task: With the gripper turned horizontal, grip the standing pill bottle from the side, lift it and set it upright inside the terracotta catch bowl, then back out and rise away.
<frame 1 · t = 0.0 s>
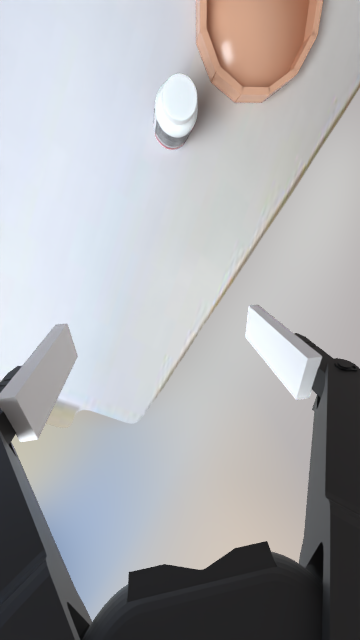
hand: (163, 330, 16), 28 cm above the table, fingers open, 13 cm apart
catch bowl: (254, 22, 29), on the table
pill bottle: (170, 129, 33), on the table
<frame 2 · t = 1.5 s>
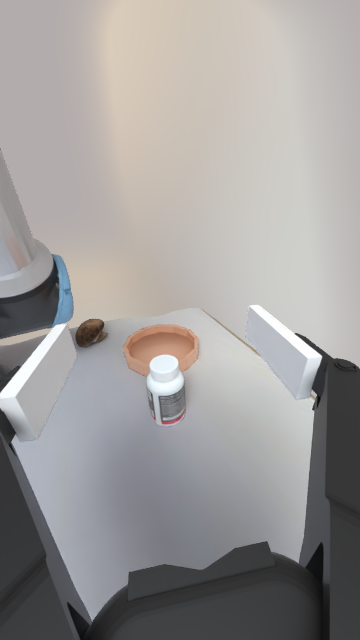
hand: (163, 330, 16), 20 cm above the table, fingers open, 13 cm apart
catch bowl: (162, 351, 48), on the table
pill bottle: (168, 413, 33), on the table
mushroom: (93, 342, 52), on the table
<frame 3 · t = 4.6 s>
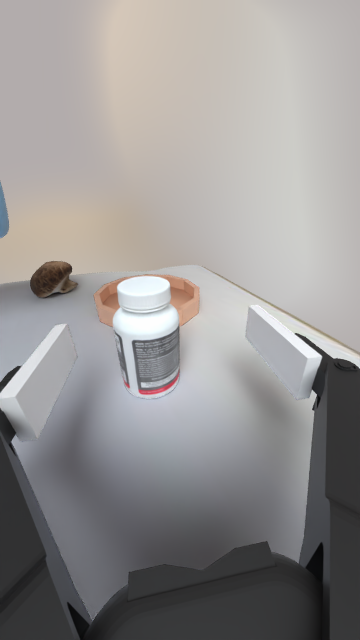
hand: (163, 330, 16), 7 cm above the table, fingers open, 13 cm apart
catch bowl: (149, 304, 35), on the table
pill bottle: (152, 379, 21), on the table
mushroom: (57, 294, 39), on the table
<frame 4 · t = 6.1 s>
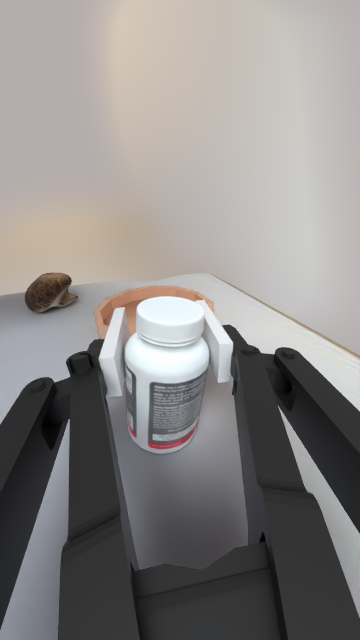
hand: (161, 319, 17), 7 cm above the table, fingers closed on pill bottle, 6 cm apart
catch bowl: (156, 321, 31), on the table
pill bottle: (162, 423, 17), on the table, touching gripper
mushroom: (55, 308, 35), on the table
when the fingers open (8 cm above the table, at t = 12.1 s): pill bottle stays where it is, resting on catch bowl.
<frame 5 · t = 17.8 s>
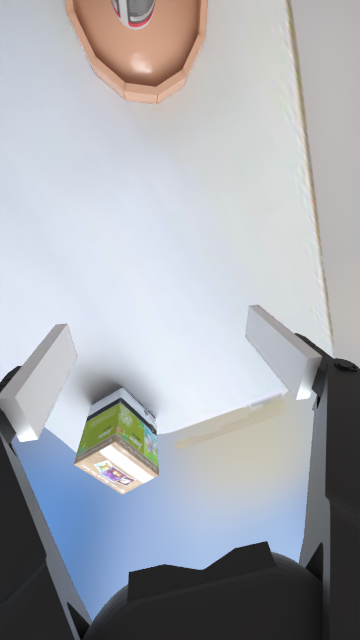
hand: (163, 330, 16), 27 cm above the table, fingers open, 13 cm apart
catch bowl: (139, 14, 26), on the table
tea box: (125, 410, 56), on the table
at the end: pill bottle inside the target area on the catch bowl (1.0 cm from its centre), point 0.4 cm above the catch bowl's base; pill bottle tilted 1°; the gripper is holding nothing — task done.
